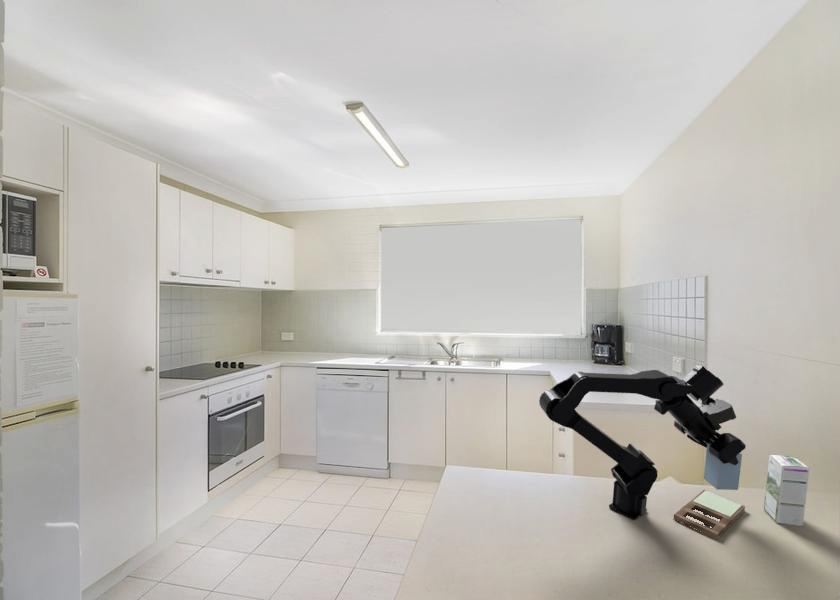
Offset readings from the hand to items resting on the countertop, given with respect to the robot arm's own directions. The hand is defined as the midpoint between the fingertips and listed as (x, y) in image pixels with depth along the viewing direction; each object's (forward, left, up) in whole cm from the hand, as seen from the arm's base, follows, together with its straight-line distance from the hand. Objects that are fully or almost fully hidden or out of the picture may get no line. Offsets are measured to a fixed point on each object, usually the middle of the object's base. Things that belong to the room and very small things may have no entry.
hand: (728, 458), depth 107 cm
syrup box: (+10, +9, -14) cm, 19 cm away
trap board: (-1, -4, -14) cm, 14 cm away
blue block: (-1, -1, -7) cm, 7 cm away
